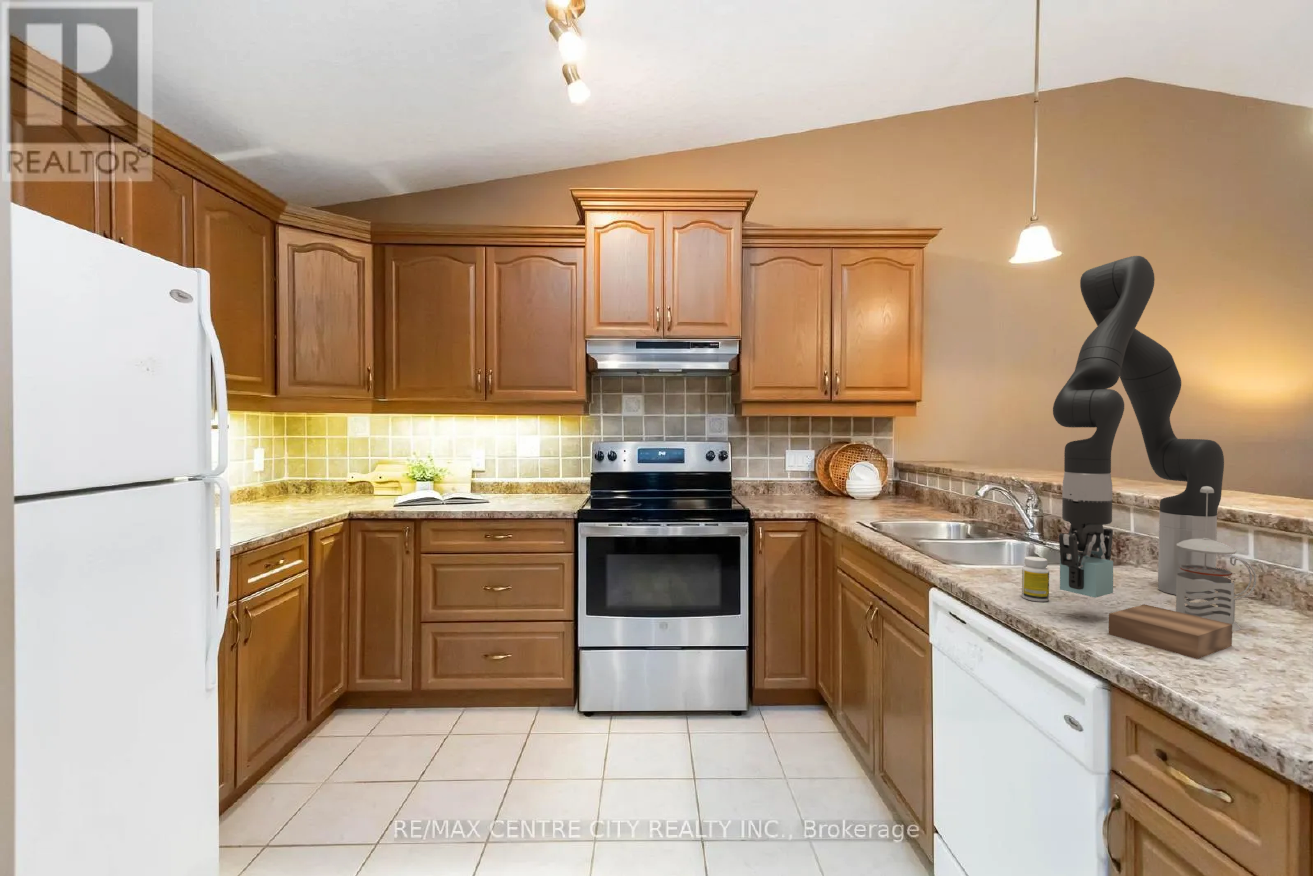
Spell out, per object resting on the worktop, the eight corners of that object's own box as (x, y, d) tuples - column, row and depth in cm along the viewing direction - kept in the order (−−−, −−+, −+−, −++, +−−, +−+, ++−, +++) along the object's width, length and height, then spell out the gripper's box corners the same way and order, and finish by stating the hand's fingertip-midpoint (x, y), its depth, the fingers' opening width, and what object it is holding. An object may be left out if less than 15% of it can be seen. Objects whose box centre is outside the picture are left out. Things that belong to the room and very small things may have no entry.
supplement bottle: (1053, 603, 118) (1053, 561, 118) (1027, 601, 119) (1028, 560, 119) (1042, 596, 123) (1043, 556, 123) (1017, 594, 124) (1018, 555, 124)
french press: (1160, 610, 114) (1163, 482, 114) (1240, 619, 109) (1243, 485, 108) (1178, 625, 105) (1182, 487, 105) (1266, 636, 100) (1270, 490, 100)
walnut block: (1143, 626, 106) (1144, 604, 106) (1231, 648, 96) (1232, 624, 95) (1108, 636, 101) (1108, 613, 101) (1197, 661, 90) (1198, 635, 90)
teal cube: (1077, 585, 113) (1077, 554, 113) (1112, 593, 108) (1113, 560, 108) (1059, 589, 111) (1060, 558, 111) (1095, 597, 105) (1095, 564, 105)
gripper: (1085, 492, 116) (1084, 576, 116) (1043, 497, 109) (1042, 586, 109) (1130, 496, 109) (1129, 585, 109) (1088, 501, 102) (1087, 596, 103)
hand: (1085, 585), depth 109 cm, fingers closed on teal cube, 6 cm apart
